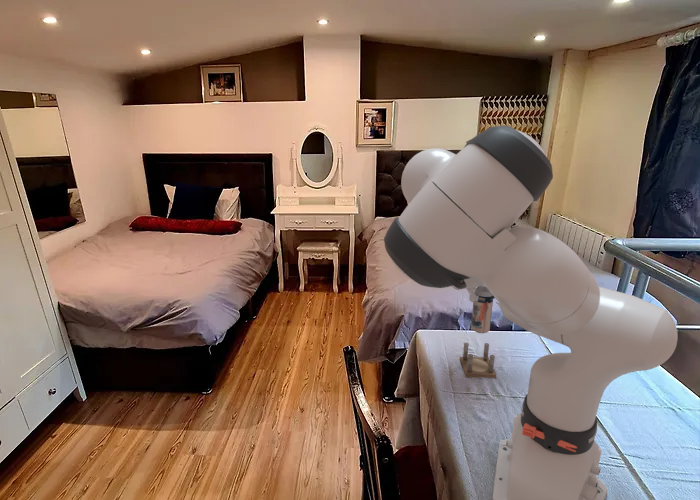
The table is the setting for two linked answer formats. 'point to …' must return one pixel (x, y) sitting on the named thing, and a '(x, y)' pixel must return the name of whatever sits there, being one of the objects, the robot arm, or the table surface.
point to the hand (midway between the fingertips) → (483, 299)
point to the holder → (478, 364)
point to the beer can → (482, 310)
